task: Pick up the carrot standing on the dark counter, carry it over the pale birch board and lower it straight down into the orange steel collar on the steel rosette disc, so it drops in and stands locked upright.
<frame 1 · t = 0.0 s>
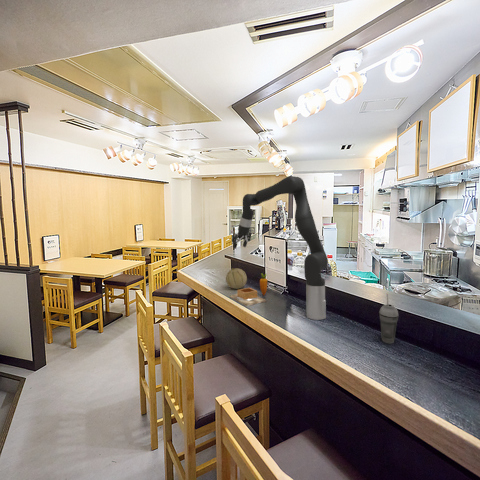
hand: (239, 247, 182), 31 cm above the worktop, tool tilted 20°, fingers open, 8 cm apart
base board: (247, 299, 175), on the worktop
carrot: (263, 295, 182), on the worktop
socket collar: (247, 293, 175), on the base board, point 4 cm above the worktop
beverage cup: (387, 341, 117), on the worktop
cantaloupe: (236, 288, 200), on the worktop
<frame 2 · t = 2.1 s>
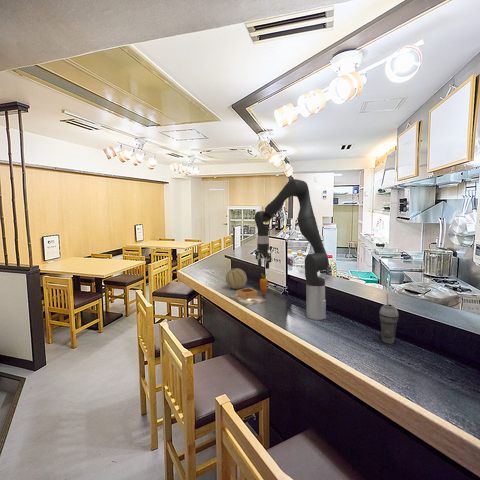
hand: (263, 267, 180), 19 cm above the worktop, tool pointing down, fingers open, 8 cm apart
nothing on the worktop moved.
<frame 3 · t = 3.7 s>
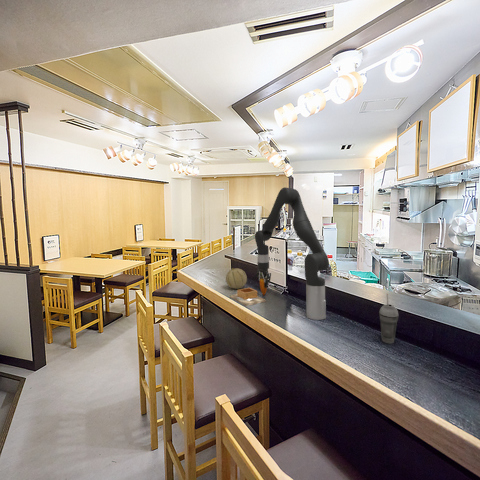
hand: (263, 286, 181), 6 cm above the worktop, tool pointing down, fingers closed on carrot, 4 cm apart
carrot: (263, 295, 182), on the worktop, touching gripper
everything else where it was.
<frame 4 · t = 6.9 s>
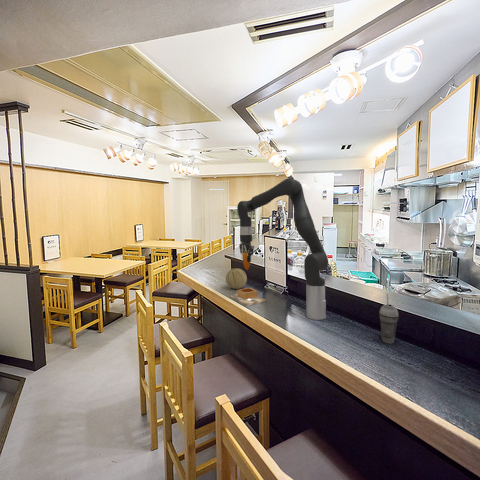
hand: (246, 261, 172), 24 cm above the worktop, tool pointing down, fingers closed on carrot, 4 cm apart
carrot: (246, 270, 173), point 18 cm above the worktop, touching gripper
everything else where it was.
when the fingers open (9 cm above the worktop, at t = 9.9 s): carrot drops 1 cm, resting on socket collar.
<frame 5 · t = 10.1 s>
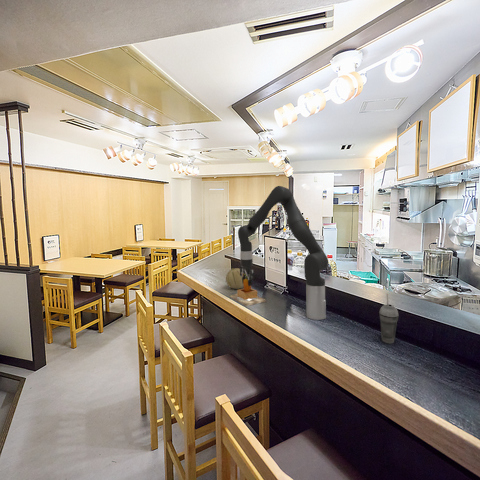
hand: (247, 284, 174), 10 cm above the worktop, tool pointing down, fingers open, 6 cm apart
carrot: (247, 296, 175), point 2 cm above the worktop, touching socket collar
everything else where it was.
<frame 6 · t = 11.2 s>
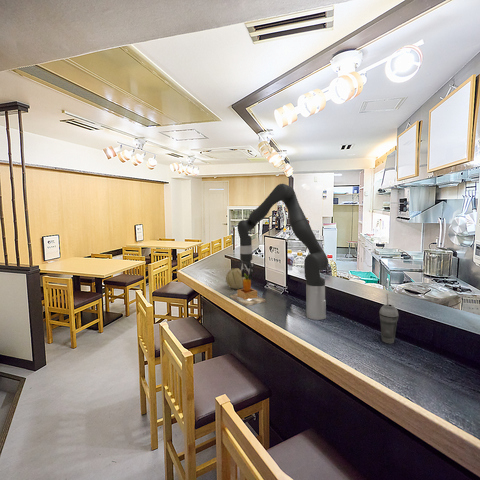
hand: (246, 278, 173), 14 cm above the worktop, tool pointing down, fingers open, 8 cm apart
nothing on the worktop moved.
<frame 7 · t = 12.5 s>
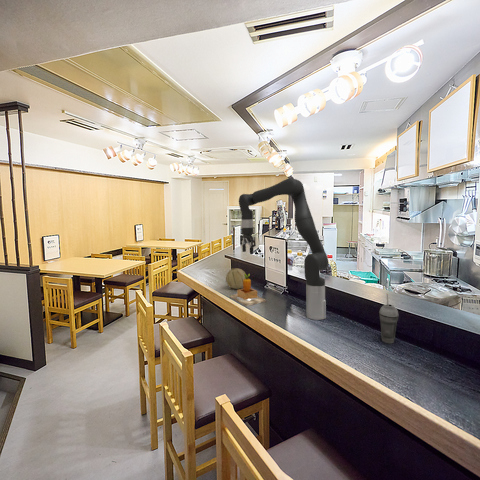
hand: (247, 252, 174), 29 cm above the worktop, tool pointing down, fingers open, 8 cm apart
nothing on the worktop moved.
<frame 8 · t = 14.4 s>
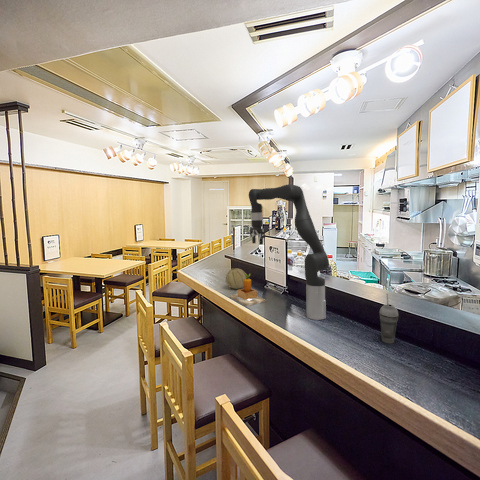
hand: (257, 243, 186), 33 cm above the worktop, tool pointing down, fingers open, 8 cm apart
nothing on the worktop moved.
at the end: carrot 0.1 cm off-centre on the socket collar, point 1.6 cm above the socket collar's base; carrot tilted 0°; the gripper is holding nothing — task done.
